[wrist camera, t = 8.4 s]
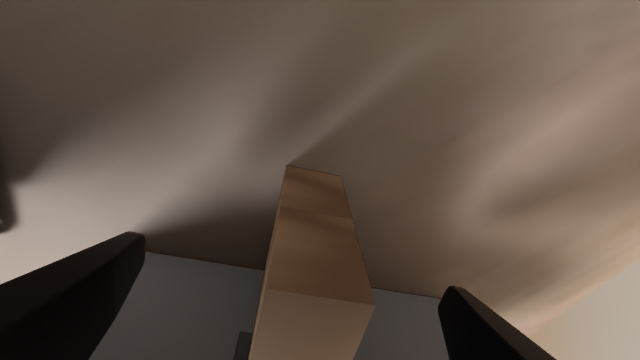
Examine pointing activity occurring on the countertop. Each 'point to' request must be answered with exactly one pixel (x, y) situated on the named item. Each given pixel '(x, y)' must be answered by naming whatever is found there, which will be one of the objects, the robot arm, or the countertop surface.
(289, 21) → the countertop surface
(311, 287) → the cross plate
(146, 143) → the countertop surface
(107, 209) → the countertop surface
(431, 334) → the base plate
